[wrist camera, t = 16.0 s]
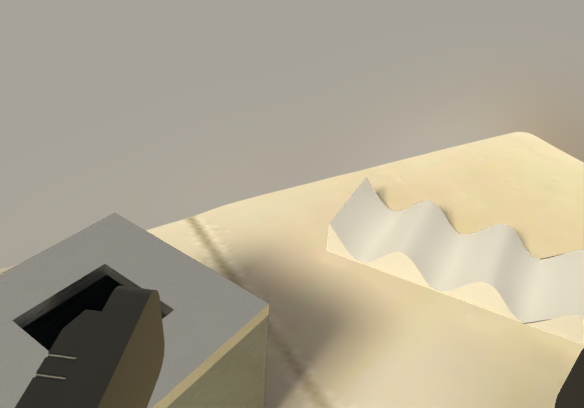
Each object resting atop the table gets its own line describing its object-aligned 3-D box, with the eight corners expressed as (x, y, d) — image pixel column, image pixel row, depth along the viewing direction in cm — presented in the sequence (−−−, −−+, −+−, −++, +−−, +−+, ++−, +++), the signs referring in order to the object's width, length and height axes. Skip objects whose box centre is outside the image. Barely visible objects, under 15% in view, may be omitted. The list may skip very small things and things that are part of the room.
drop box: (133, 332, 59) (114, 212, 50) (263, 427, 51) (269, 303, 42) (-33, 456, 47) (-98, 327, 38) (102, 607, 39) (61, 488, 30)
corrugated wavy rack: (612, 360, 61) (631, 328, 58) (325, 254, 73) (329, 223, 70) (614, 289, 71) (631, 258, 68) (361, 205, 83) (366, 176, 80)
